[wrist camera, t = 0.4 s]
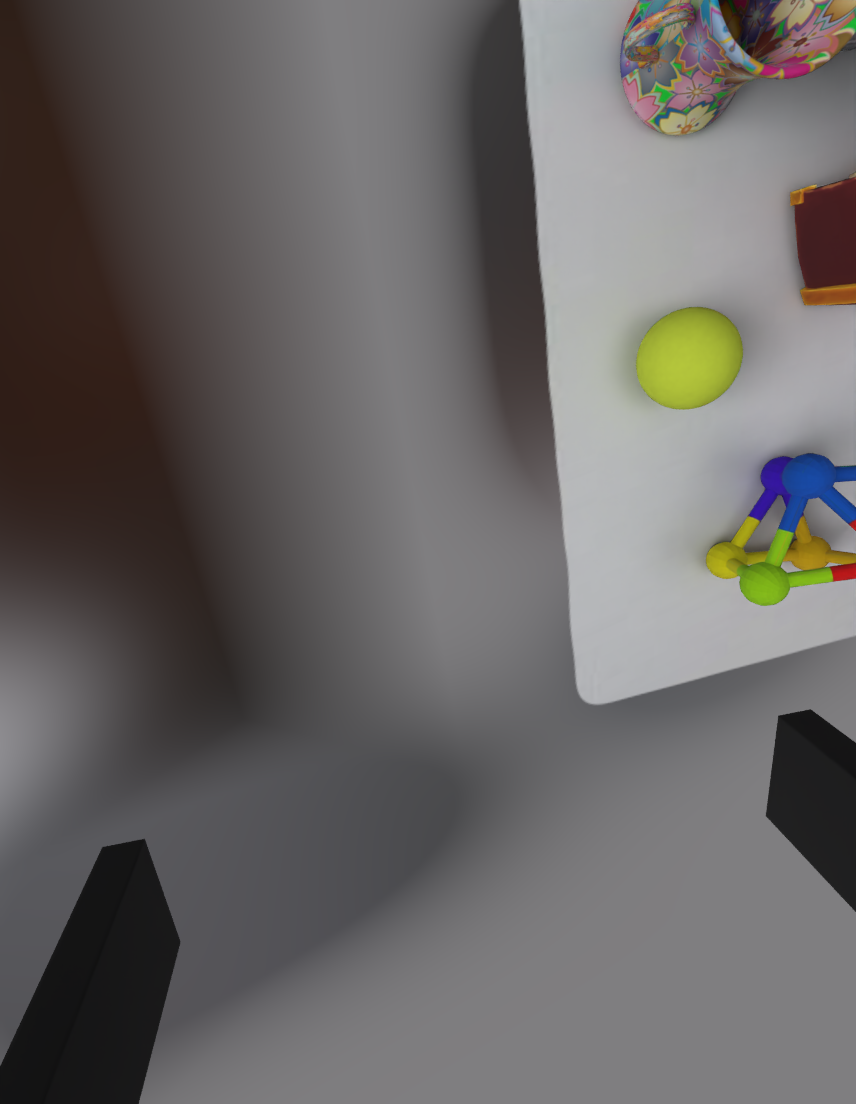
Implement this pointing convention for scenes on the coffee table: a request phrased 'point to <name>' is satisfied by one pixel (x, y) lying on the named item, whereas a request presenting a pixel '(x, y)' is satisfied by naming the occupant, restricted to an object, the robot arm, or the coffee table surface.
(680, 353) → the ball
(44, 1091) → the robot arm
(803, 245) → the book monster
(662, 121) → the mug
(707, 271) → the coffee table surface
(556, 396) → the coffee table surface
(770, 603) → the educational toy
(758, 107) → the coffee table surface
